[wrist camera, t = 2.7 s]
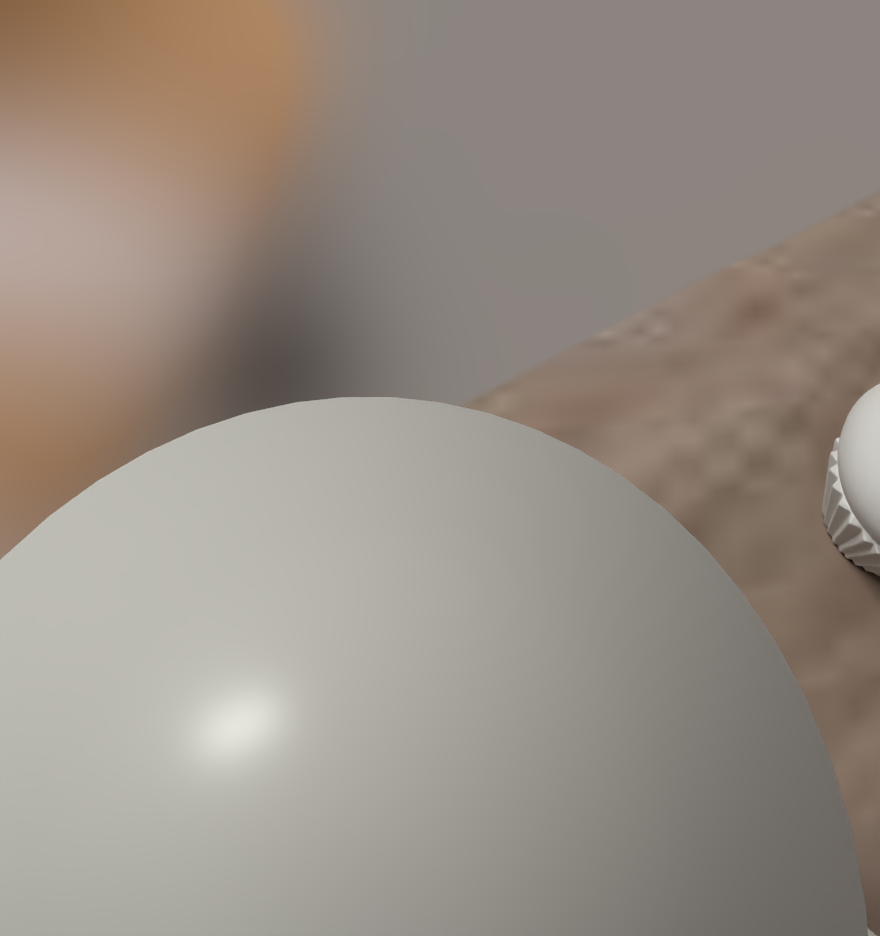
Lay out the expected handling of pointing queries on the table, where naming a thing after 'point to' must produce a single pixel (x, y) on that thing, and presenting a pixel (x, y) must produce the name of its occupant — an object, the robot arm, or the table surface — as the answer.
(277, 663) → the grey cup with lid
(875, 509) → the muffin
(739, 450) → the table surface
